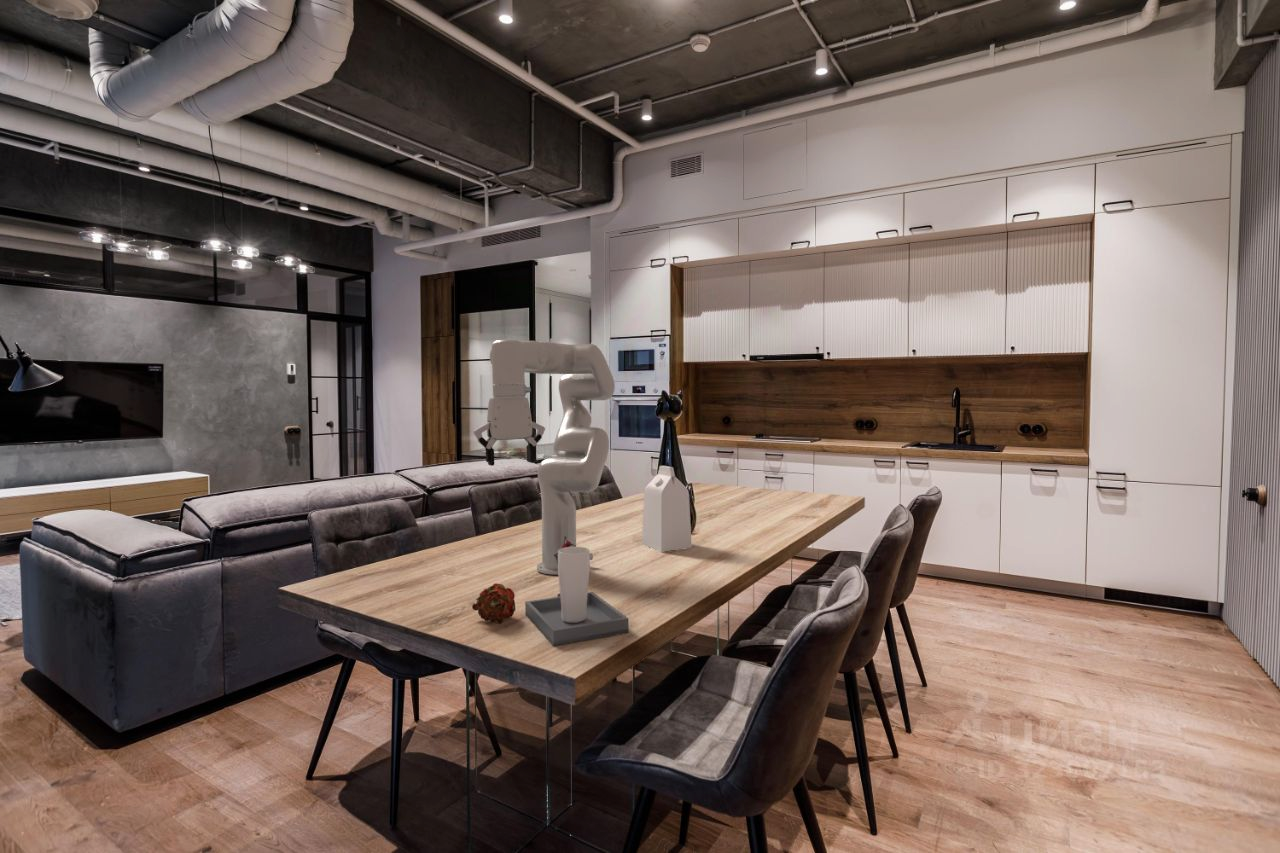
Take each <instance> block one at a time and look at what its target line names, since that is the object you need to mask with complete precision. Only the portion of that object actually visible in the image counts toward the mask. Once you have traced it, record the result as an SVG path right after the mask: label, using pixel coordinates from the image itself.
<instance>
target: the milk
mask: <svg viewBox="0 0 1280 853" xmlns="http://www.w3.org/2000/svg"><path fill="white" fill-rule="evenodd" d="M674 469H675V468H674V467H673V466H667V465H659V467H658V472H657V474H656V475H655V476H654V478H652V480H650V481H649V483H647V485H646V486H645V488H644V491H643V492H644V493H643V512H642V513H643V515H642V533H641V535H642V537H641V545H642V544H643V545H645V546H644V547H646V546H648V547H650V548H649V549H651V548H653V549H655V550H654V551H656V550H658V551H660V552H659V553H661V552H662V553H664V552H663V551H669V552H671V551H670V550H676V551H678V550H677V549H683V548H690V547H692V548H693V546H692V527H691V509H690V508H691V507H690V494H689V493H690V492H689V490H688V487H686V486H685V485H684V484H683V483H682V481H681V480H679V479H678V478H677V476H676V474H675V470H674ZM643 545H642V546H643ZM648 547H647V548H648ZM653 549H652V550H653ZM690 549H691V548H690ZM683 550H684V549H683ZM658 551H657V552H658Z"/></svg>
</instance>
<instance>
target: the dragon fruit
mask: <svg viewBox="0 0 1280 853" xmlns="http://www.w3.org/2000/svg"><path fill="white" fill-rule="evenodd" d="M475 600H476V602H473V603H472V605H471V608H472V610H473V611H477V613H478V616H479V617H480V618H481V619H482V620H483V621H485V622H488V621H489V622H491V623H493V624H502V623H503V621H506V620H507V619H509V618H510V619H511V618H512V617H513V616H514V613H515V611H516V602H515V592H514V591H513V590H512V589H511V588H510V587H505V585H504V584H502V583H496V582H495V583H493V584H492V585H491V586H489V587H487V588H484V589H483V590H482V591H481V592H480V593H479V596H478V597H477V598H476V599H475Z"/></svg>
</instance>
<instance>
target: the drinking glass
mask: <svg viewBox="0 0 1280 853" xmlns="http://www.w3.org/2000/svg"><path fill="white" fill-rule="evenodd" d="M589 553H590V549H589V548H587V547H583V546H576V547H565V548H561V549H559V550H558V576H557V577H558V586H559V593H560V599H561V617H562V620H563V621H565V622H568V623H579V622H582V621H584V620H585V619H586V617H587V597H588V592H589V585H590V584H589V582H590V581H589V580H590V569H591V568H590V566H591V560H590V555H589Z"/></svg>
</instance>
